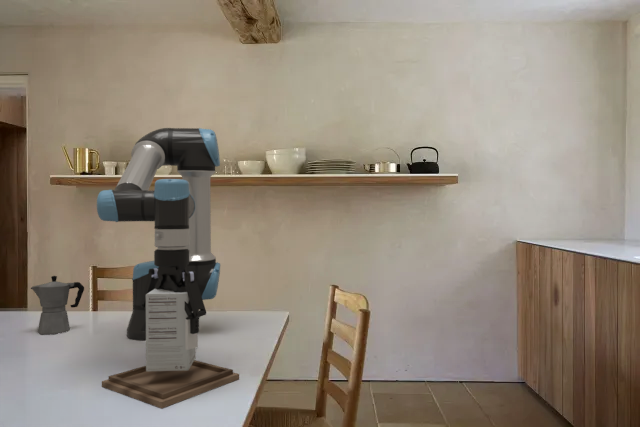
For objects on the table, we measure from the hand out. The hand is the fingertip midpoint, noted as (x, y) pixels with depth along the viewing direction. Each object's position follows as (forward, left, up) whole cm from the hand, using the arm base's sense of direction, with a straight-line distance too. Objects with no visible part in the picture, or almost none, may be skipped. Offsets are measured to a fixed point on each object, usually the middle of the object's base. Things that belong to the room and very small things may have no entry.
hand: (171, 343), depth 110 cm
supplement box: (0, 0, -5) cm, 5 cm away
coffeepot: (-71, +10, -9) cm, 72 cm away
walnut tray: (0, 0, -9) cm, 9 cm away
